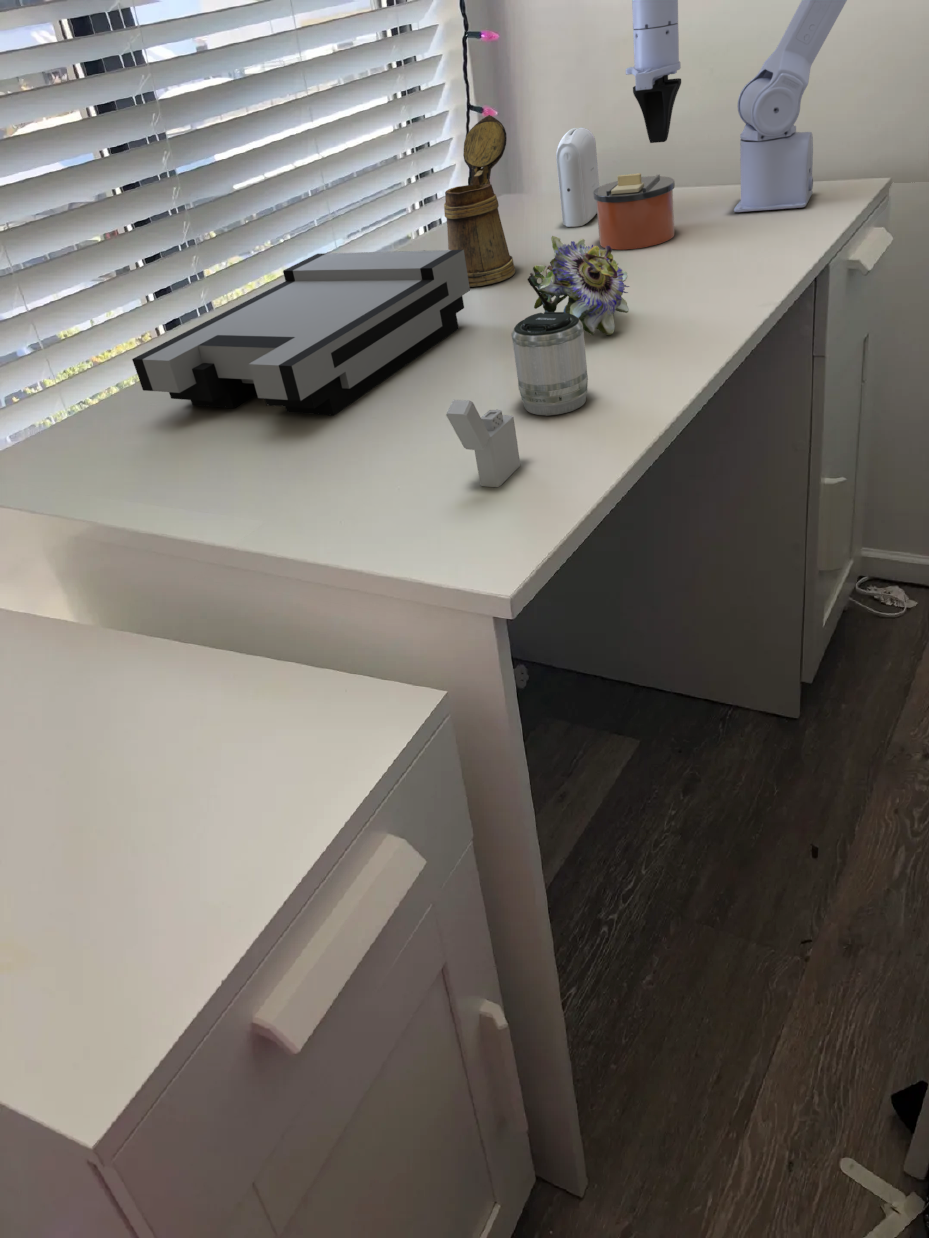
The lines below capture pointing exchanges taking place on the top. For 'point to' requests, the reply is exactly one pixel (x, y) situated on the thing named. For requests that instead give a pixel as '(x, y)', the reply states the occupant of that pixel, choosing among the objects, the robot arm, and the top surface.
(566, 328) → the camera lens
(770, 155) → the robot arm
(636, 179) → the slider
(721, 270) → the top surface
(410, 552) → the top surface
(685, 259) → the top surface
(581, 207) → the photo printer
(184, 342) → the game console
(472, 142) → the wooden mug
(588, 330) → the passion flower
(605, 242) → the orange lidded canister
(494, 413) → the lighter
